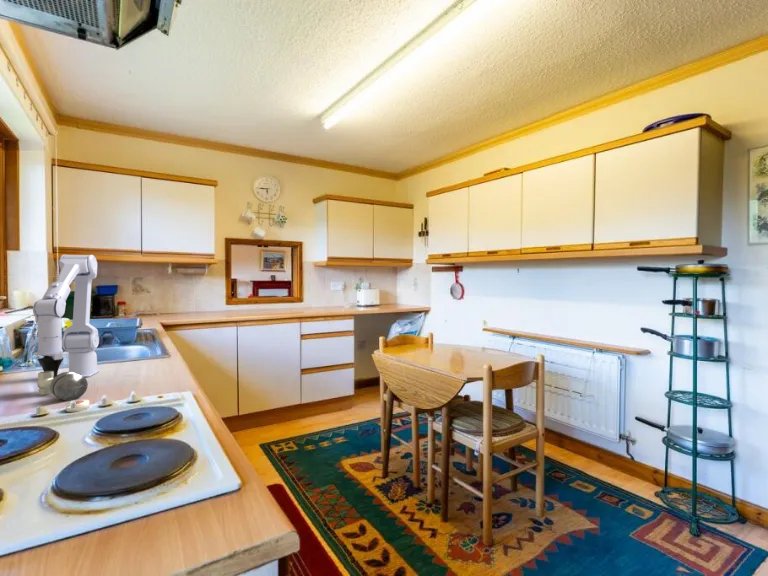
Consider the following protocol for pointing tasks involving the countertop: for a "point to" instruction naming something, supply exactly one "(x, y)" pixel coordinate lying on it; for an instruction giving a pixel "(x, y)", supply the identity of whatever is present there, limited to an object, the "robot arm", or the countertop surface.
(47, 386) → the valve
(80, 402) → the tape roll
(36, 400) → the countertop surface
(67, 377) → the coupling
